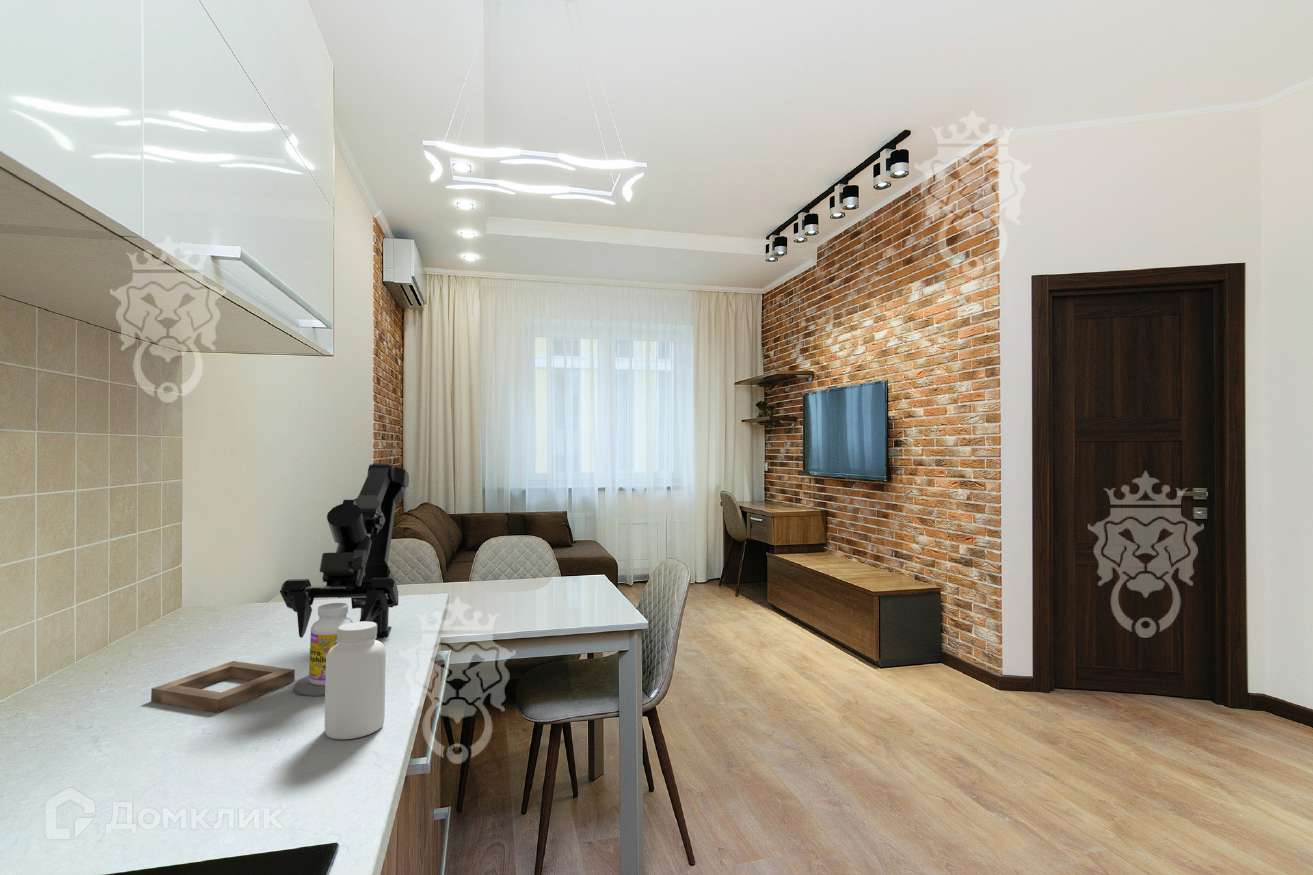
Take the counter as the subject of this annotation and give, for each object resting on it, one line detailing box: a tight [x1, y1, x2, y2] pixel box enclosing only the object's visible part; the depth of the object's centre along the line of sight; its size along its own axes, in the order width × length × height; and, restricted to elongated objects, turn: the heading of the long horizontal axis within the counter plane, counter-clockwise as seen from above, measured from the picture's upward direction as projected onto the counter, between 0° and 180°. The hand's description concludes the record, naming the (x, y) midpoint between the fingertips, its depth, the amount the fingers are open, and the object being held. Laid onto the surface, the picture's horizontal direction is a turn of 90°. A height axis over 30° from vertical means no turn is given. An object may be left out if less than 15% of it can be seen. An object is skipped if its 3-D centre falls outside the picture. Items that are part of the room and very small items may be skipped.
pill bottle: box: [323, 621, 387, 740], centre depth 90 cm, size 8×8×15 cm
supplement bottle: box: [308, 602, 354, 686], centre depth 107 cm, size 7×7×13 cm
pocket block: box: [150, 660, 296, 713], centre depth 103 cm, size 14×14×2 cm
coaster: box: [293, 675, 325, 697], centre depth 107 cm, size 11×11×1 cm
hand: (329, 635), depth 106 cm, fingers open, 9 cm apart
